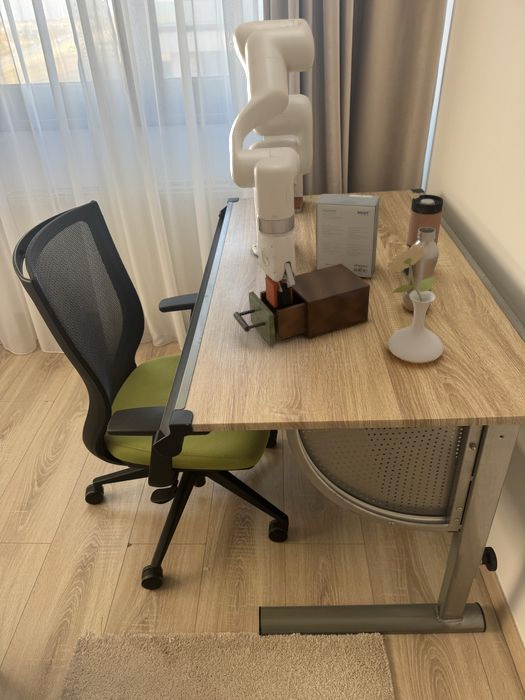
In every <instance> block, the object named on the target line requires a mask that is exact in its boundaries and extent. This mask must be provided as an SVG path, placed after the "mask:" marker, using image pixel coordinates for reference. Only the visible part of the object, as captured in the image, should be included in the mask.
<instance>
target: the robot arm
mask: <svg viewBox="0 0 525 700" xmlns="http://www.w3.org/2000/svg"><path fill="white" fill-rule="evenodd" d="M232 37H233V46H234V49H235V52H236V55H237V57H238V59H239V62H240V64H241V65H242V67H243V69H244V72H245V74H246V84H247V103H246V104H245V105H244V107H243V108H241V110H240V112H239V113H238V115H237V116H236V118H235V120H234V122H233V124H232V126H231V130H230V133H229V165H230V174H231V179H232V182H233V183H234V184H235V185H236V186H237V187H238V188H241V189H253V201H254V213H255V228H256V229H255V230H256V241H257V242H255V243H254V244H253V245H252V253H253V254H254V255H255V256H257V261H258V266H259V268H260V269H261V270H262V271H263V273H265V277H270V278H271V279H272V280H274V281H275V282H277V284H278V291H277V306H278V307H279V308H280V307H283V306H287V305H290V304H291V290H292V287H293V286H295V281H294V277H295V275H297V274H296V272H297V261H296V259H297V258H296V247H295V238H294V233H293V232H294V231H295V229H296V227H295V223H296V222H295V212H294V183H295V181H296V179H297V177H298V176H299V175H303V176H305V175H307V174H309V173H310V172H311V170H312V168H313V161H314V160H313V159H314V157H313V156H314V144H313V143H314V129H313V126H314V124H313V123H314V122H313V121H314V118H313V117H314V116H313V107H312V103H311V100H310V98H309V97H308V96H307V95H305V94H300V93H295V94H293V93H292V94H289V83H288V73H301V72H302V73H303V72H308V71H310V70H311V69H312V68H313V65H314V61H315V54H316V52H315V51H316V48H315V39H314V35H313V32H312V29H311V27H310V25H309V23H308V21H307V20H306V19H305V18H286V19H285V18H283V19H264V20H262V19H261V20H254V21H253V20H251V21H248V22H243V23H241V24H238V25H237V26H236V27H235V28H234V30H233V35H232ZM252 131H253V132H254V134H255V135H256V136H259V137H264V136H282V135H294V136H295V137H296V138H292V139H274V140H264V139H262V140H259V141H256V142H254V143H252V144H251V145H250V146H249V148H248V149H247V148H246V149H244V141H245V139H246V137H247V136H248V135H249V134H250V133H251V132H252ZM284 274H285V276H283V275H284ZM283 280H287V282H286V283H284V284H283V285H282V282H281V281H283Z"/></svg>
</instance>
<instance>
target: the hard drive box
mask: <svg viewBox="0 0 525 700" xmlns="http://www.w3.org/2000/svg"><path fill="white" fill-rule="evenodd" d="M380 198H381V196H380V195H369V194H339V193H321V195H320V196H319V197H318V199H317V200H316V202H315V263H316V265H315V270H318V269H322V268H326V267H330V266H334V265H338V264H343V265H344V266H345V267H347V268H348V269H349V270H351V271H352V272H353V273H355V274H356V275H357V276H359V277H360V278H372V277H373V274H374V271H375V269H376V263H377V262H376V260H377V259H376V258H377V244H378V230H379V215H380V214H379V213H380Z"/></svg>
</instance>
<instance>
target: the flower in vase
mask: <svg viewBox="0 0 525 700" xmlns="http://www.w3.org/2000/svg"><path fill="white" fill-rule="evenodd" d="M424 250H425V248H424V245H423V246H421V247H420V248H419V243H418V244H416V245H412V246H411V248H410V247H409V246H407V245H406V246H405V247H404V248H403V250H399V252H398V253H397V254H394V255H392V257H391V259H392V260H390V261H389V262H388V263H387V264H386V267H387V268H388V269H387V271H389V272H397V273H398V272H400V271H402V272H403V270H404V271H405V268H408V267H410V271H411V277H412V284H413V286H412V285H407V284H402V285H400V286H398V287H397V288H395V289H394V290H393V291H392V294H397V293H398V294H399V293H400V294H401V293H403V294H404V292H406V291H408V290H409V289H411V288H412V287H414V288H415V291H412V292H411V293H410V294H409V297H410V299H411V300H412V302H413V305H414V312H413V318H412V323H411V324H410V325H409V326H406V327H403V328H401V329H398V330H397V331H395V332H394V333H392V334H391V336H390V337H389V339H388V340H387V348H388V349H389V351H390V353H391V354H392V355H393V356H395V357H396V358H397V359H399V360H401V361H404V362H407V363H413V364H425V363H430V362H433V361H435V360H437V359H438V358H439V357H440V356H442V354H443V352H444V344H443V341H442V339H440V337H439V336H438V335H437V334H435V332H433V331H431V330H430V329H428V328H427V327H426V326H425V321H426V316H427V315H426V314H427V311H428V309H429V308H428V306H429V305H430V306H431V304H432V303H433V302H434V301H435V299H436V295H435V293H434V292H433V291H431V292H430V291H427V290H430V289H431V288H433V287H434V284H435V280H436V276H435V275H433V277H431V278H428V279H425V280H423V281H421V282H420V283H419V287H418V290H417V288H416V287H415V285H414V280H413V273H412V268H411V265H414V264H415V263H416V262H417V261H418V260H420V258H422V257H423V255H422V254H423V253H424V252H425V251H424ZM430 303H431V304H430Z"/></svg>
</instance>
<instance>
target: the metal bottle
mask: <svg viewBox="0 0 525 700" xmlns="http://www.w3.org/2000/svg"><path fill="white" fill-rule="evenodd" d="M435 233H436V230H435V229H434V228H431V227H421V228H419V229H418V235H417V239H418V240H417V241H416V242H415V243H414V244H413V245H416V244H418V243H419V248H420V247H421V246H423V245H424V248H425V250H424V251H425V252H424V253H423V254H422V255H423V257H422V258H420V260H418V261H417V262H416V263H415V264H414V265H411V268H412V273H413V280H414V285H415V287H416V288H417V290H418V287H419V283H420V282H421V281H423V280H425V279H428V278H431V277H433V276H434V273H435V270H436V269H435V268H436V266H437V262H438V260H439V257H440V248H439V246H438V243H437V244H436V243H435V242H434V239H435ZM407 276H408V275H407ZM406 285H412V286H413V284H412V277H411V271H410V267H409V276H408V278H407V282H406ZM432 288H433V287H432ZM432 288H431V289H430V290H427V291H430V292H432V290H433V289H432ZM412 291H415V288H414V287H412V288H411V289H409V290H408V291H406V292H404V293H403V296H402V304H403V307H404V308H405V309H406V310H407V311H410V312H413V313H414V305H413V302H412V300H411V299H410V297H409V294H410V293H411V292H412ZM431 304H432V302H431V303H430V305H429V306H428V309H429V308H430V306H431Z"/></svg>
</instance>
